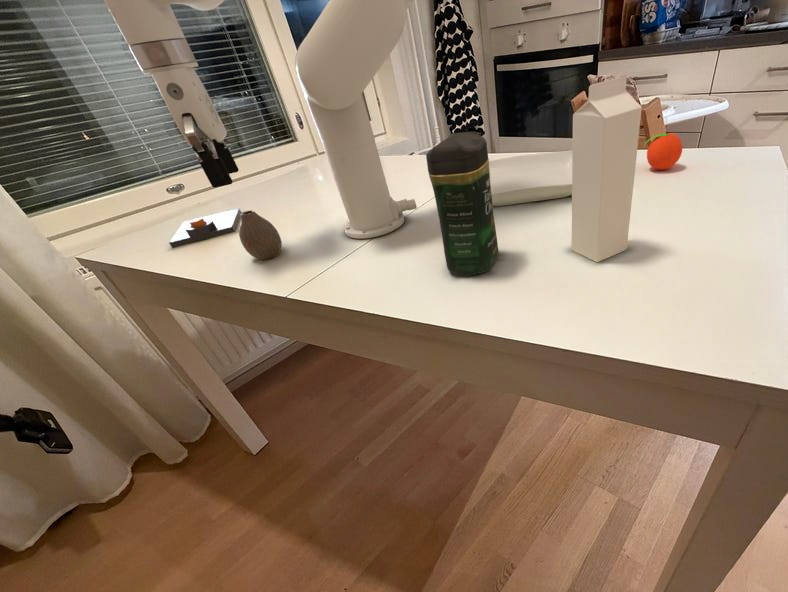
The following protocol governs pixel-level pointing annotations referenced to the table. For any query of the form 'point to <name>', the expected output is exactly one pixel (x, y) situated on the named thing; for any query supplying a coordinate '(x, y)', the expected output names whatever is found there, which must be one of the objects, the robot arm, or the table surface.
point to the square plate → (531, 177)
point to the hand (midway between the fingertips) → (226, 179)
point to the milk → (604, 169)
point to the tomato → (664, 151)
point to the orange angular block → (197, 222)
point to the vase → (259, 236)
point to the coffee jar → (464, 202)
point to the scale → (207, 228)
